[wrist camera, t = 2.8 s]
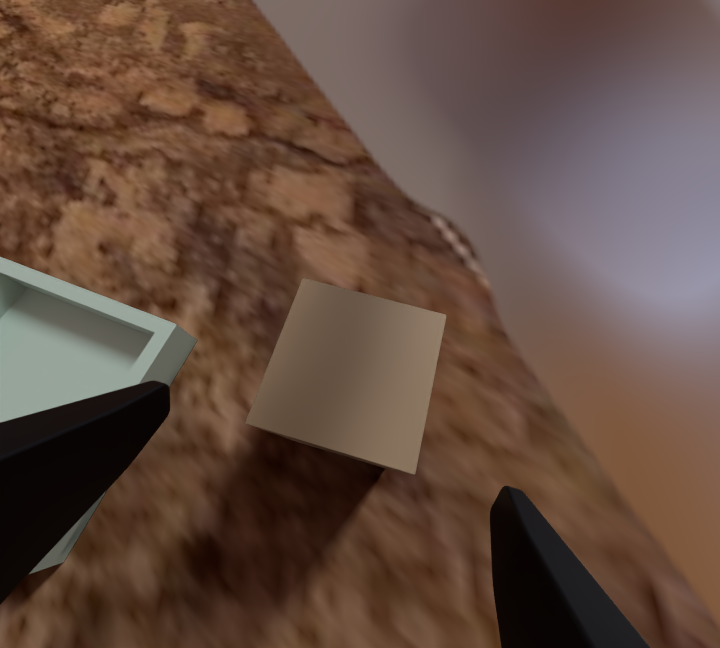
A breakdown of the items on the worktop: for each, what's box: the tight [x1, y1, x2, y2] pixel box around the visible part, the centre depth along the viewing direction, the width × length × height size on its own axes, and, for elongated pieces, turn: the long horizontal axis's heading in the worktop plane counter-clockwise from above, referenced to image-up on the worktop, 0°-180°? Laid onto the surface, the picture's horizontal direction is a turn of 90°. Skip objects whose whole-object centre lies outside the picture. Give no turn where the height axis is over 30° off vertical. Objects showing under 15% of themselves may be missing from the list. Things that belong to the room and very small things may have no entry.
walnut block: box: [245, 278, 446, 475], centre depth 14 cm, size 5×5×9 cm
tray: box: [0, 257, 197, 574], centre depth 17 cm, size 12×12×2 cm
